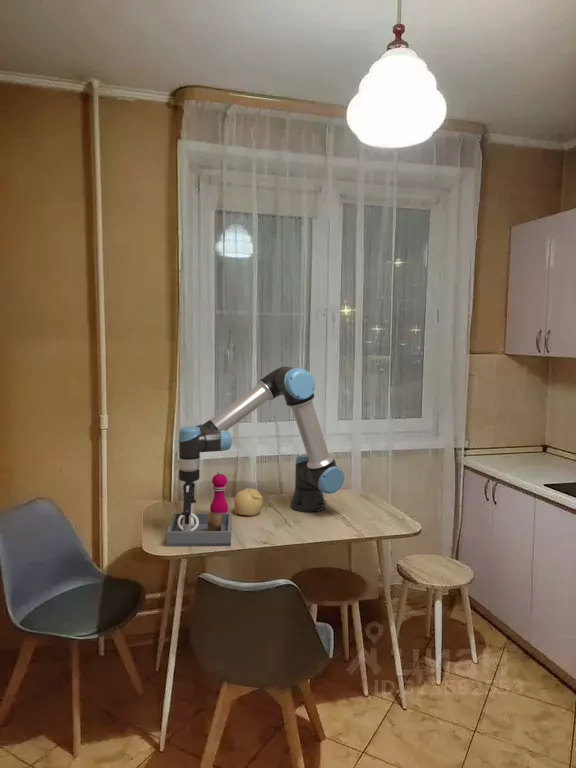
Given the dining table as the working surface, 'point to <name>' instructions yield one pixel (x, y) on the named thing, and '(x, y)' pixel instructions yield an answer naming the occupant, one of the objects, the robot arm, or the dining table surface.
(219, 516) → the walnut cylinder
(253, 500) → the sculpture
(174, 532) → the tray
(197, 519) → the ring around a ball
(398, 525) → the dining table surface
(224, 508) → the pepper mill
